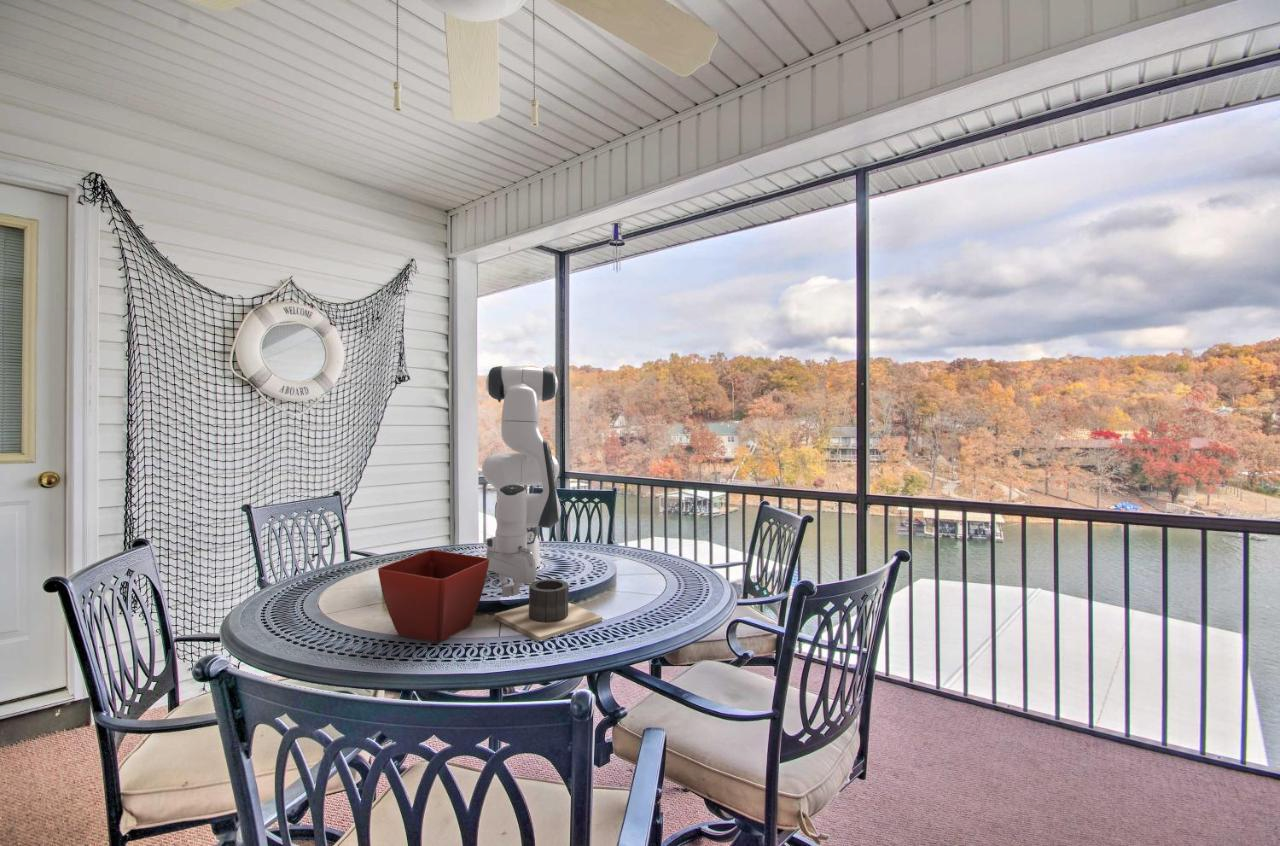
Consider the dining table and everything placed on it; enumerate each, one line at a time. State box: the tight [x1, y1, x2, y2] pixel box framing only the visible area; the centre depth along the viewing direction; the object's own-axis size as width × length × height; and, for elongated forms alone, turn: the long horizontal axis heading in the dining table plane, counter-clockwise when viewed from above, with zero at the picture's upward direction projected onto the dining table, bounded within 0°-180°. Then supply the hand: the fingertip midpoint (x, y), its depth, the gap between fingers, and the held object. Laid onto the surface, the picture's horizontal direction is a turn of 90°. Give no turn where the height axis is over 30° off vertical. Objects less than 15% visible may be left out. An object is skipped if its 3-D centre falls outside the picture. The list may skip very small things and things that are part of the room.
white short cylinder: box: [499, 582, 518, 598], centre depth 166 cm, size 6×6×5 cm
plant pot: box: [377, 549, 489, 644], centre depth 144 cm, size 19×19×17 cm
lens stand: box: [493, 578, 603, 642], centre depth 153 cm, size 20×20×9 cm
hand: (510, 591), depth 166 cm, fingers open, 4 cm apart
